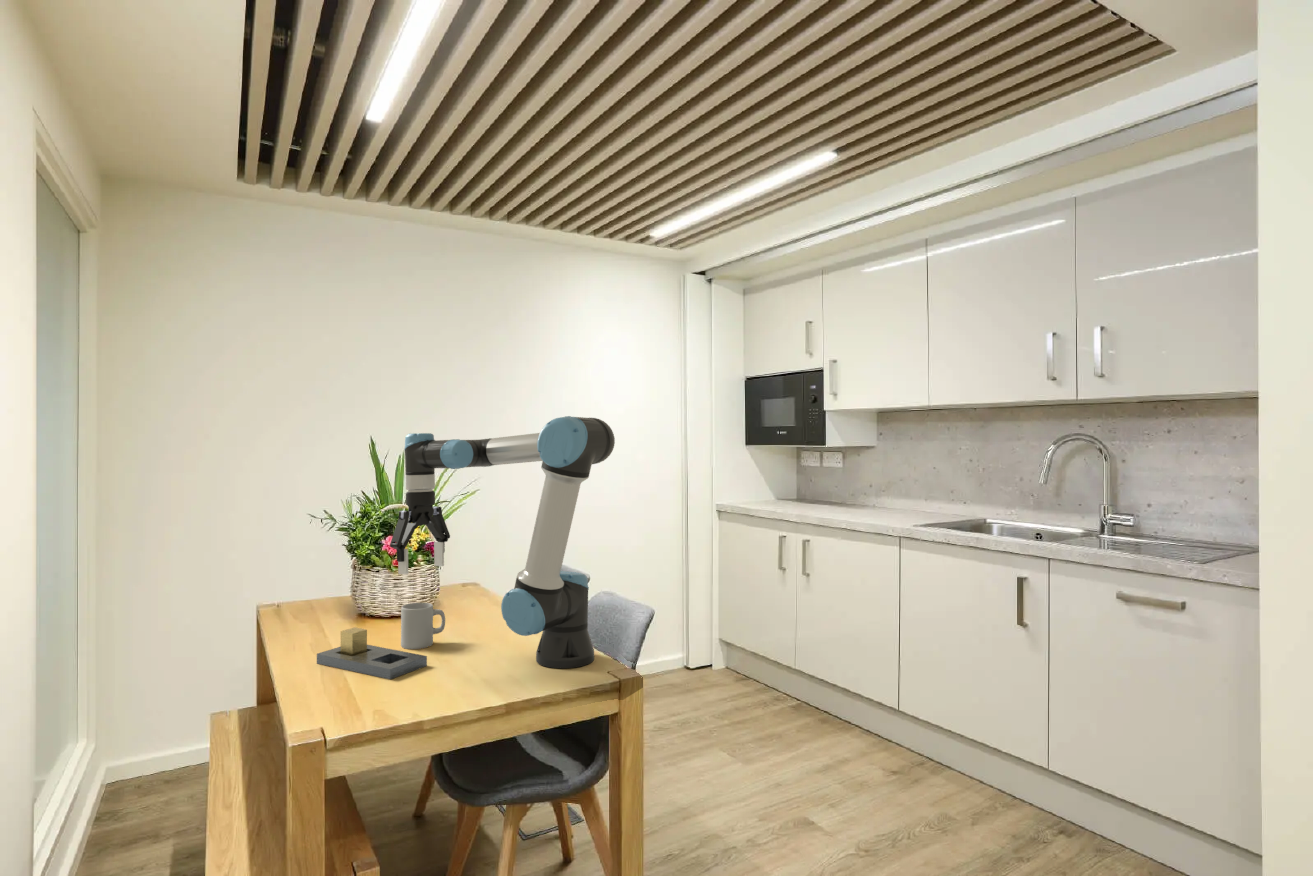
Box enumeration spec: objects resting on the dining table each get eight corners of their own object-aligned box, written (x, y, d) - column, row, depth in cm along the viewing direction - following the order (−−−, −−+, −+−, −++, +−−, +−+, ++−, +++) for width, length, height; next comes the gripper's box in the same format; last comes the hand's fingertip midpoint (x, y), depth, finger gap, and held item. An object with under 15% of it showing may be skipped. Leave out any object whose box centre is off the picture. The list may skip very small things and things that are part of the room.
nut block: (366, 660, 195) (366, 629, 195) (352, 664, 191) (352, 633, 191) (355, 657, 198) (355, 627, 197) (340, 662, 194) (340, 631, 193)
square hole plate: (426, 665, 191) (426, 656, 191) (390, 679, 180) (390, 669, 180) (354, 651, 203) (355, 642, 203) (316, 663, 192) (316, 653, 192)
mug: (403, 651, 204) (403, 610, 204) (398, 643, 211) (398, 604, 211) (448, 645, 209) (448, 606, 209) (441, 638, 217) (442, 600, 217)
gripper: (441, 487, 215) (442, 561, 214) (374, 493, 192) (376, 576, 192) (462, 487, 211) (463, 563, 211) (396, 494, 189) (398, 578, 189)
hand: (421, 569), depth 202 cm, fingers open, 13 cm apart
